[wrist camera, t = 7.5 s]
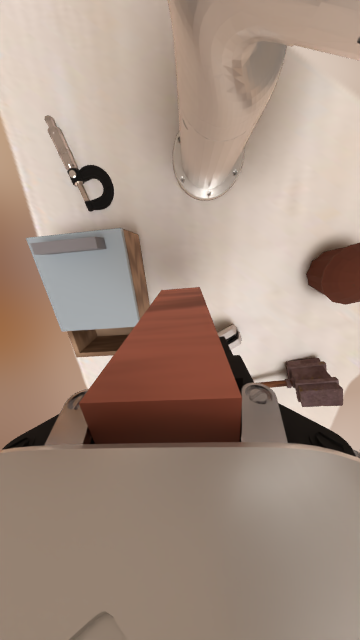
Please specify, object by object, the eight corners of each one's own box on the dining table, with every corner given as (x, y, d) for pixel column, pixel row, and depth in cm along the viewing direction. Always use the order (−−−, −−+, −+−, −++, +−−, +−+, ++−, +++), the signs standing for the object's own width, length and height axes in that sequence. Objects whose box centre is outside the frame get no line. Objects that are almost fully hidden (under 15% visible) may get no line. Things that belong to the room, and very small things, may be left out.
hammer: (322, 376, 46) (345, 408, 37) (206, 386, 57) (203, 412, 48) (320, 356, 44) (345, 385, 35) (200, 370, 55) (196, 395, 46)
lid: (31, 238, 28) (7, 236, 25) (122, 228, 27) (112, 224, 24) (65, 329, 35) (50, 338, 31) (140, 324, 33) (135, 333, 30)
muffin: (291, 290, 39) (323, 302, 30) (314, 238, 35) (360, 233, 26) (339, 300, 39) (386, 314, 30) (368, 250, 35) (432, 249, 26)
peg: (161, 290, 22) (78, 403, 5) (199, 287, 22) (242, 397, 5) (165, 325, 24) (114, 492, 7) (201, 322, 23) (236, 493, 7)
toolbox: (67, 242, 37) (32, 238, 29) (138, 234, 36) (123, 229, 28) (96, 338, 46) (76, 357, 37) (154, 334, 45) (146, 353, 36)
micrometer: (120, 202, 34) (115, 198, 32) (90, 216, 35) (84, 213, 33) (81, 106, 29) (72, 93, 27) (48, 125, 30) (36, 115, 28)
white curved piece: (188, 365, 48) (181, 380, 38) (180, 351, 48) (171, 362, 38) (242, 338, 44) (249, 347, 34) (233, 322, 44) (238, 327, 35)
